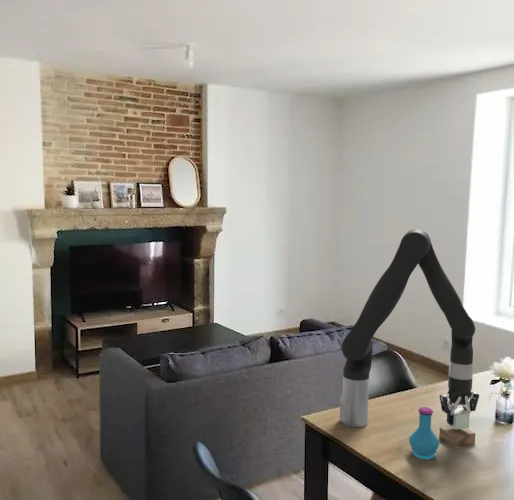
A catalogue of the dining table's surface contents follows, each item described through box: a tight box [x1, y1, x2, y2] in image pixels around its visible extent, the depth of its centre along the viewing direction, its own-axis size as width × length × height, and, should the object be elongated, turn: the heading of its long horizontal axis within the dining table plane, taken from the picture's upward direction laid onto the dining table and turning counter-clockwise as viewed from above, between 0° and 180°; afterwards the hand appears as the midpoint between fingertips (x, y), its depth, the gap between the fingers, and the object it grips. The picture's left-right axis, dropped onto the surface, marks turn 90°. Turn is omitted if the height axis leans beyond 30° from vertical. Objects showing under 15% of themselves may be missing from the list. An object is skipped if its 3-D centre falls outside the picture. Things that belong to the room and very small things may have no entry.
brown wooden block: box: [438, 424, 476, 449], centre depth 188 cm, size 8×8×4 cm
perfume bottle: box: [408, 406, 440, 460], centre depth 178 cm, size 9×9×15 cm
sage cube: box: [446, 407, 471, 429], centre depth 188 cm, size 5×5×5 cm
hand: (457, 423), depth 188 cm, fingers closed on sage cube, 5 cm apart
